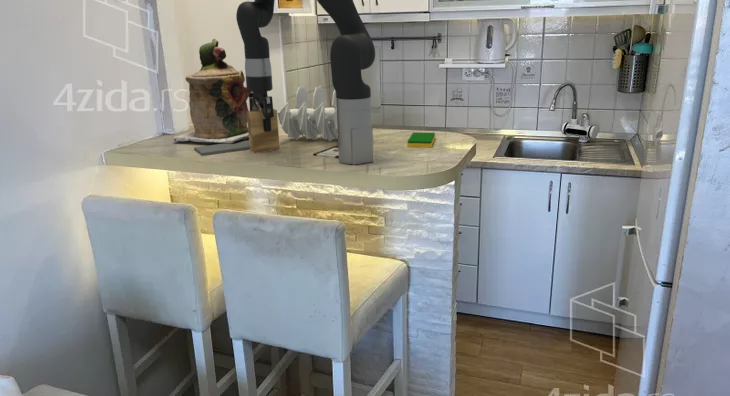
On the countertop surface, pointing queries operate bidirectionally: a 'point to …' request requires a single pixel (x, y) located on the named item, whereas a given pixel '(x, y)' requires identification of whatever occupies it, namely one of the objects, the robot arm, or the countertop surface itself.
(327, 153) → the chocolate bar
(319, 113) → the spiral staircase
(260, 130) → the tall wooden block
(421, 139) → the dish sponge
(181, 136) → the cookie jar
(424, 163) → the countertop surface
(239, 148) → the rubber mat
